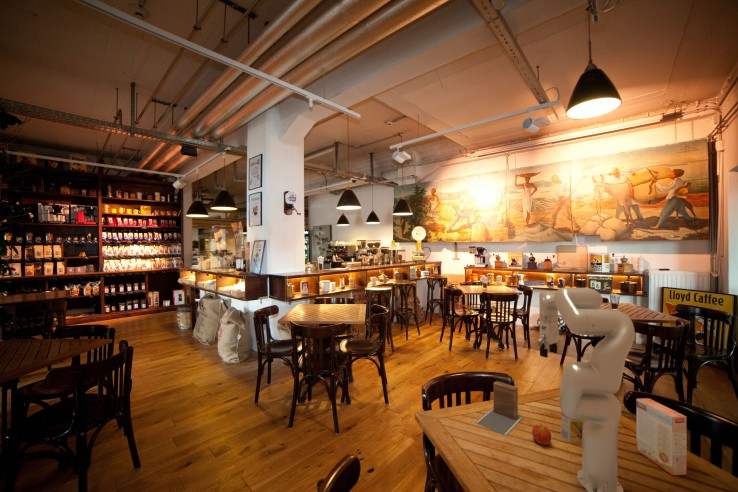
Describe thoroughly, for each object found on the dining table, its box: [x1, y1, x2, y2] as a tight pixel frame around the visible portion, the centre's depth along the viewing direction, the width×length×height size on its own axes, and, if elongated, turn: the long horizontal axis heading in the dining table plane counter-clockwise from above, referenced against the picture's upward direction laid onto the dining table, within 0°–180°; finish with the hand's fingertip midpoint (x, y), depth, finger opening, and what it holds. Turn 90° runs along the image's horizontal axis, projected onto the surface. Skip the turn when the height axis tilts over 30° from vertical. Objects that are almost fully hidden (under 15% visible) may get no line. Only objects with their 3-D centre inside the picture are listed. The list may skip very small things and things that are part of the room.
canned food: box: [560, 410, 584, 445], centre depth 132 cm, size 8×8×12 cm
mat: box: [475, 406, 524, 437], centre depth 144 cm, size 20×14×1 cm
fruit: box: [531, 423, 552, 446], centre depth 128 cm, size 7×7×8 cm
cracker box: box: [635, 397, 688, 476], centre depth 117 cm, size 14×6×21 cm, turn 4°
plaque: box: [493, 380, 519, 420], centre depth 149 cm, size 4×10×14 cm, turn 45°
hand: (548, 354), depth 145 cm, fingers open, 9 cm apart
